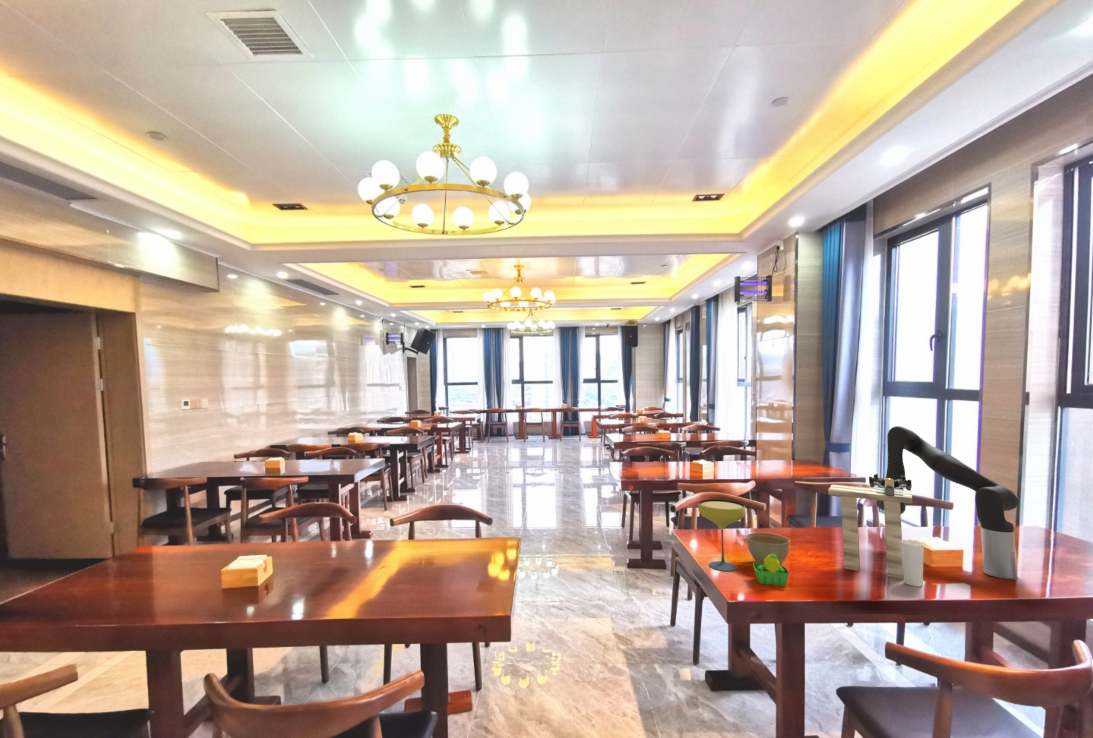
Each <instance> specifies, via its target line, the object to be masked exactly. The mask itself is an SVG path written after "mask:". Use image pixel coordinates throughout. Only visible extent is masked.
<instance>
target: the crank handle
mask: <svg viewBox="0 0 1093 738" xmlns="http://www.w3.org/2000/svg"><path fill="white" fill-rule="evenodd" d="M884 479H885V494H887V495H894V480H893V479H890V478H886V477H885V478H884Z"/></svg>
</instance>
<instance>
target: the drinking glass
mask: <svg viewBox="0 0 1093 738" xmlns="http://www.w3.org/2000/svg"><path fill="white" fill-rule="evenodd" d="M900 552H901V559H902V566H903V572H904V579H903V580H904V581H903V582H904V583H905V584H907V585H909V586H910V587H916V588H918V587H919V588H921V587H923V585H924V580H923V579H924V563H925V562H924V561H925V560H924V559H925V557H924V556H925V555H924V554H925V553H924V552H925V549H924V544H923V543H922V542H919V541H915V540H911V539H910V540H909V539H902V540H901V541H900Z"/></svg>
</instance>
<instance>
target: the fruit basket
mask: <svg viewBox="0 0 1093 738" xmlns="http://www.w3.org/2000/svg"><path fill="white" fill-rule="evenodd" d="M752 565H753V566H752V567H753V569H754V572H755V573H754V574H755V577H756V579H757V582H758V583H759V584H760V585H764V584H765V585H772V586H773V585H774V586H783V587H786V585H787V582H788V578H789V576H790V572H789V571H788V569H787V567H786V566H783V565H782V566H780V562H779V560H778V558H777V557H776V555H774V554H770V555H768V556H767V557H766V558H765V559H764V564H756V563H752Z"/></svg>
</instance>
